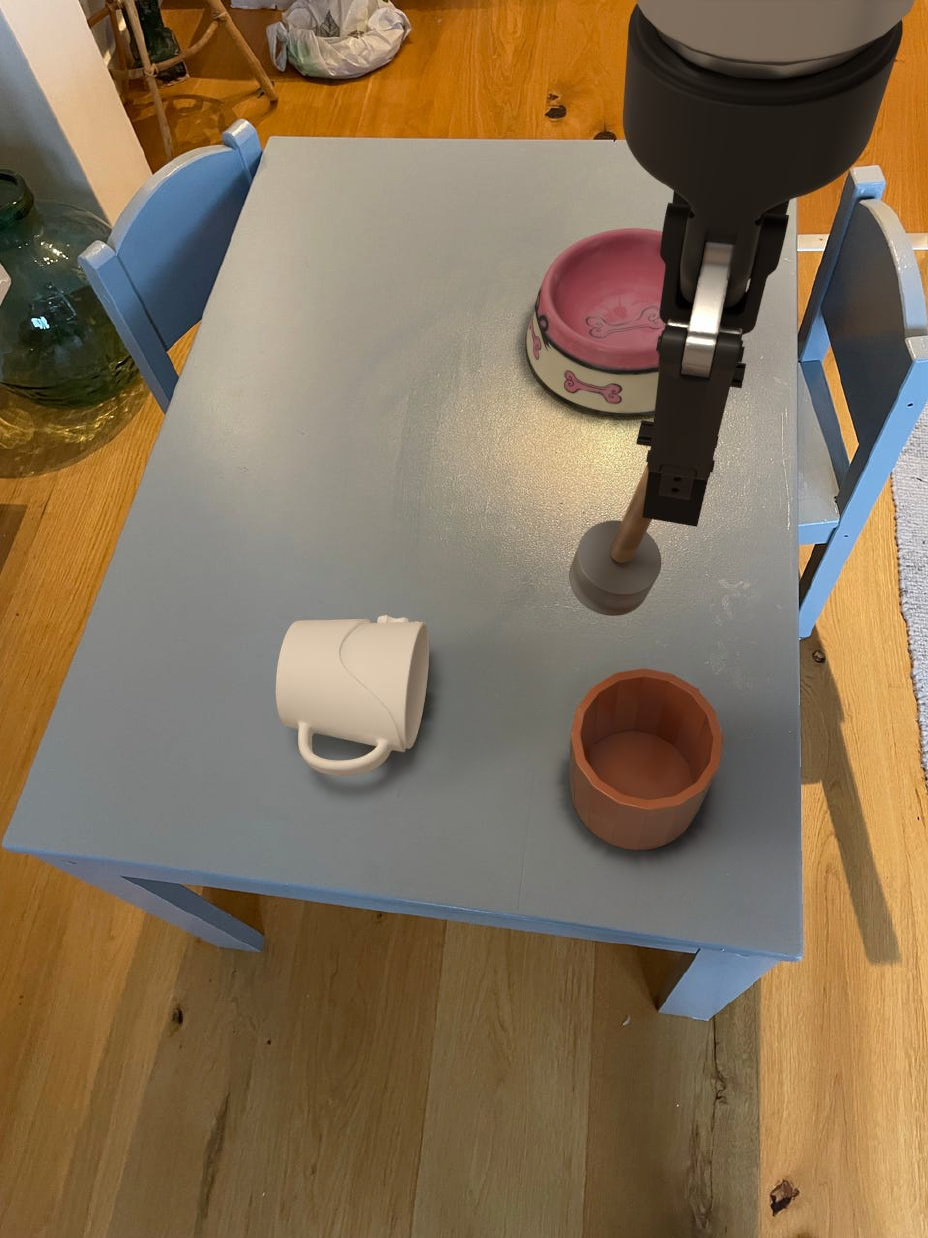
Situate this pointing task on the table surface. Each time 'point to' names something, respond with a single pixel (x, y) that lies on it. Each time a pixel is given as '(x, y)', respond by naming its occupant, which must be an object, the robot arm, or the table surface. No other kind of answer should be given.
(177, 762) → the table surface
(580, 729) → the crock
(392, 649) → the mug
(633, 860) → the table surface
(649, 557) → the toilet plunger
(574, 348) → the dog bowl
